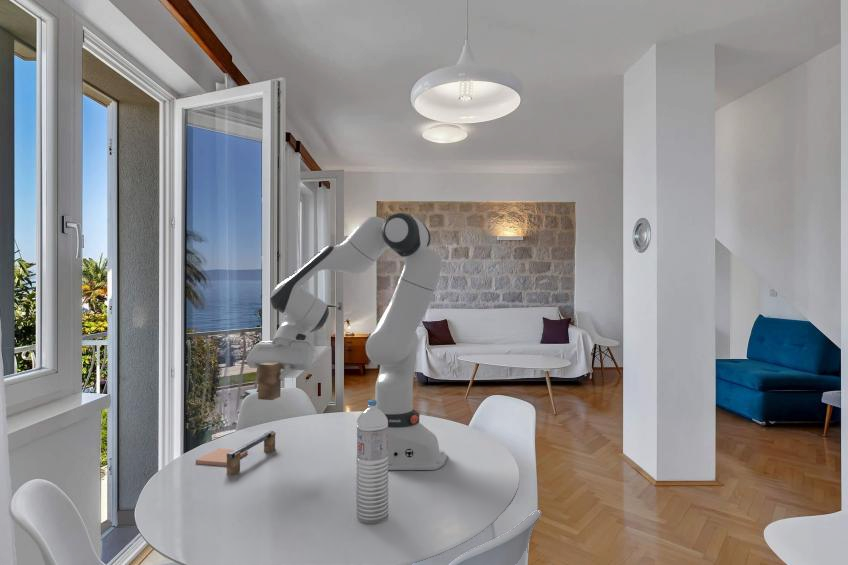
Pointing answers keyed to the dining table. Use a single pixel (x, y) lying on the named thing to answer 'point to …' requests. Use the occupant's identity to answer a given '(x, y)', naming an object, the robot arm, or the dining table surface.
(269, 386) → the walnut block
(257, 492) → the dining table surface
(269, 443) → the hurdle posts
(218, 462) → the coaster
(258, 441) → the metal bar
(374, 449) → the water bottle
